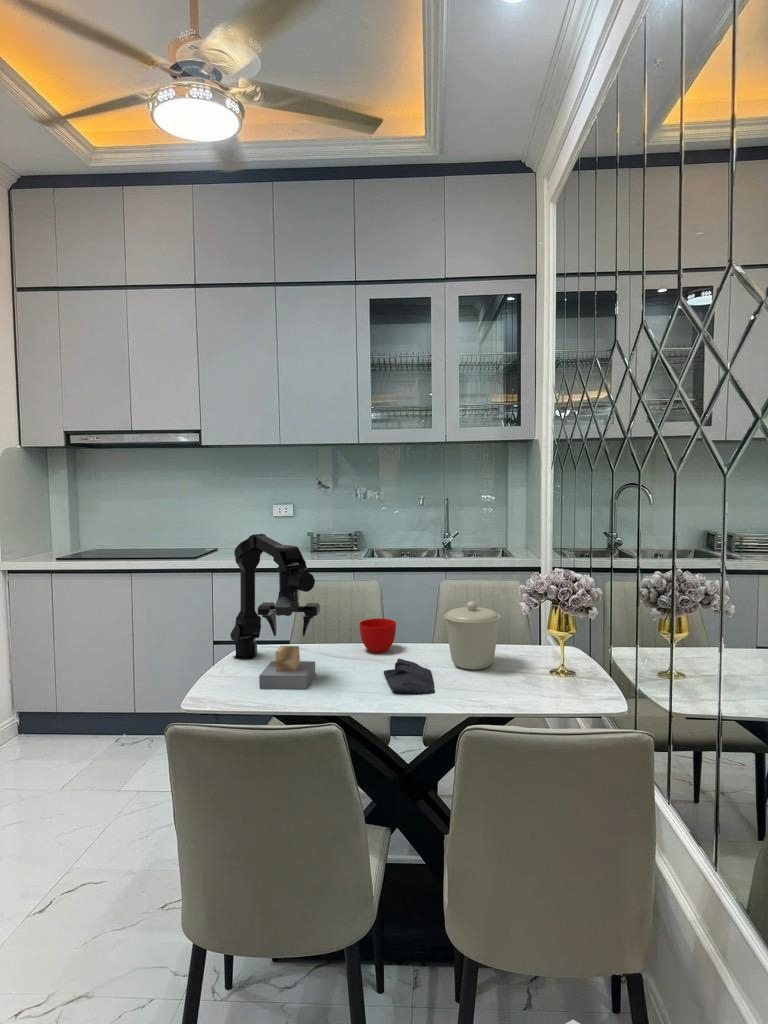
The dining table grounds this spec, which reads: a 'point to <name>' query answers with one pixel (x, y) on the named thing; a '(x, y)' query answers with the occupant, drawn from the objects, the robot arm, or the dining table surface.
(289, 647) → the oak block
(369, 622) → the ceramic cup
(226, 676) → the dining table surface
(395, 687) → the dark slate chunk
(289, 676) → the slate pedestal
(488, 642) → the canister
